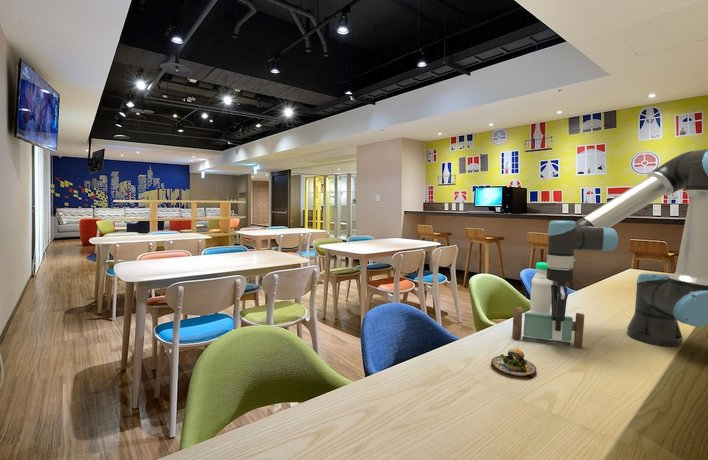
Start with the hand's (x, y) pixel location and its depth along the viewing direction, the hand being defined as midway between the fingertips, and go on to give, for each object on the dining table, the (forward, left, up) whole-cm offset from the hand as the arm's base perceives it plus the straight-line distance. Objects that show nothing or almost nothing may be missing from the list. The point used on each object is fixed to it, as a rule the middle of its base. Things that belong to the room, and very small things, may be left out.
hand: (556, 339), depth 120 cm
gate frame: (+2, -5, -3) cm, 6 cm away
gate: (+2, -4, -1) cm, 5 cm away
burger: (+14, +21, -3) cm, 26 cm away
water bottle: (+3, -18, -3) cm, 19 cm away
